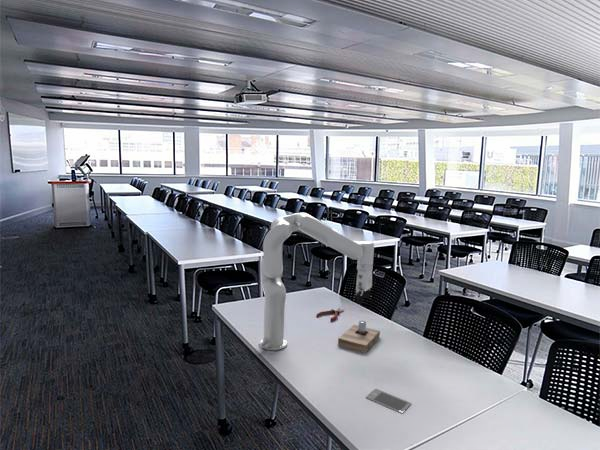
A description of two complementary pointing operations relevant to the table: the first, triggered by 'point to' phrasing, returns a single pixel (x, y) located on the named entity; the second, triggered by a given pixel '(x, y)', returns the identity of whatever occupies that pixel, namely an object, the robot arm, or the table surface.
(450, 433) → the table surface
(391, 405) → the smartphone
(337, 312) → the pliers
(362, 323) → the pin
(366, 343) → the socket block
